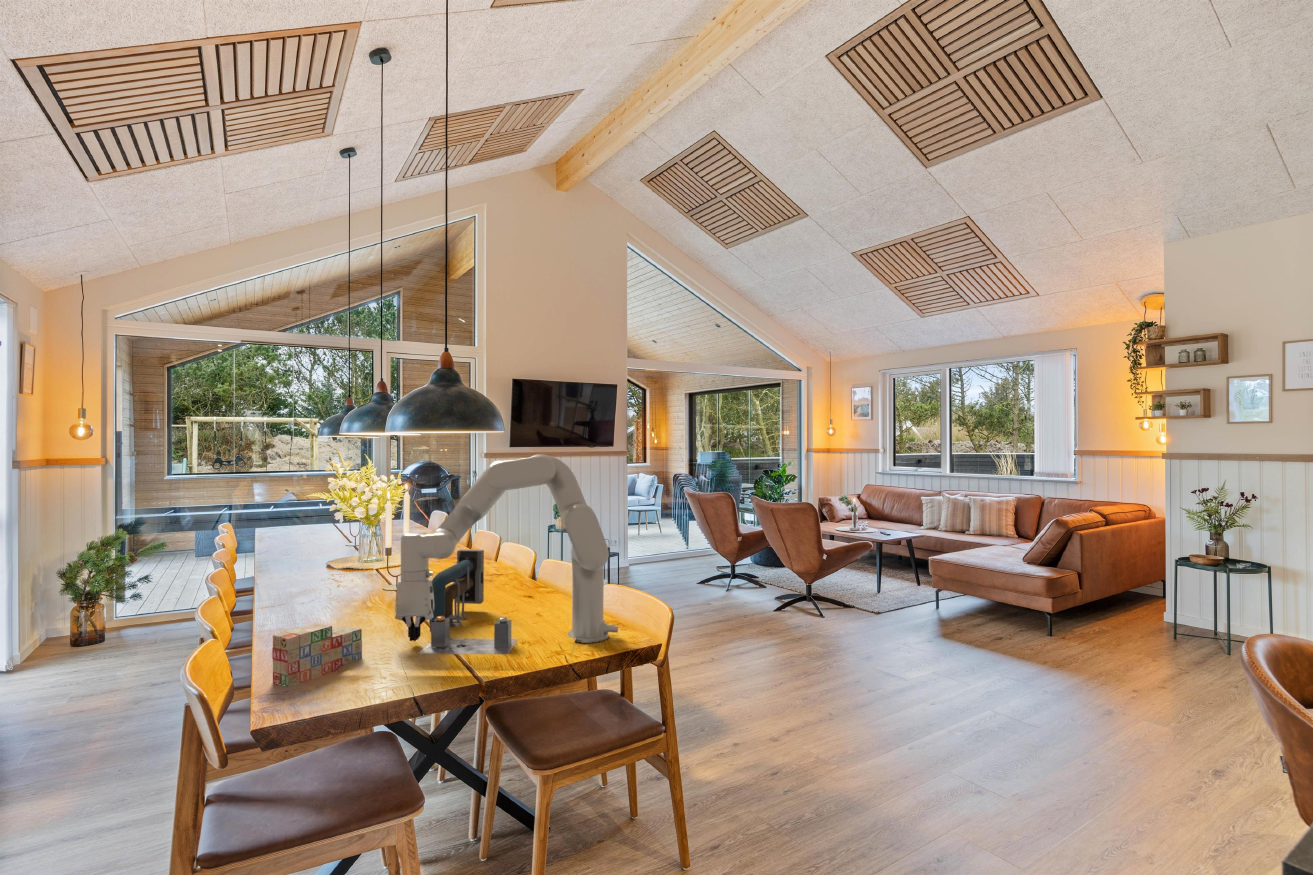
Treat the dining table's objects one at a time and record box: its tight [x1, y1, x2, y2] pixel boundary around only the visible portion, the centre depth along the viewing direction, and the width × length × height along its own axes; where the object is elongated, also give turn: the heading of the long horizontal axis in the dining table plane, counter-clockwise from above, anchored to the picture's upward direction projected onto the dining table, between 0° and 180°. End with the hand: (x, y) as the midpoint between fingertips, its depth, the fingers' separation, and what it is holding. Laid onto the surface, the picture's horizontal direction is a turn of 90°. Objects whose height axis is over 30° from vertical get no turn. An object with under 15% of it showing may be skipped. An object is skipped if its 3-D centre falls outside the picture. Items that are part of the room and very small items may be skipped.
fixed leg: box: [493, 616, 512, 648], centre depth 196 cm, size 4×4×8 cm
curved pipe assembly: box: [428, 549, 485, 633], centre depth 224 cm, size 35×9×21 cm, turn 175°
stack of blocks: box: [271, 622, 363, 688], centre depth 178 cm, size 21×6×12 cm, turn 152°
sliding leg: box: [430, 616, 451, 647], centre depth 196 cm, size 4×4×8 cm
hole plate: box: [417, 638, 519, 655], centre depth 196 cm, size 25×14×1 cm, turn 90°
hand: (414, 639), depth 196 cm, fingers closed
